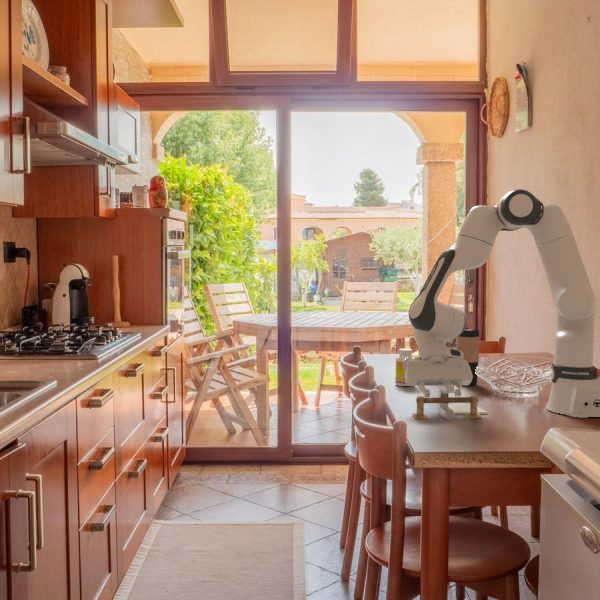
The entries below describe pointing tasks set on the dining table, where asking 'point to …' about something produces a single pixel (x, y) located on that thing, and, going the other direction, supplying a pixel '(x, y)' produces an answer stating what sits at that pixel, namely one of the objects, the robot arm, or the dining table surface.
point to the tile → (464, 409)
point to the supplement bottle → (399, 368)
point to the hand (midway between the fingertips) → (443, 396)
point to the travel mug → (470, 350)
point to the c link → (443, 391)
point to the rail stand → (472, 400)
